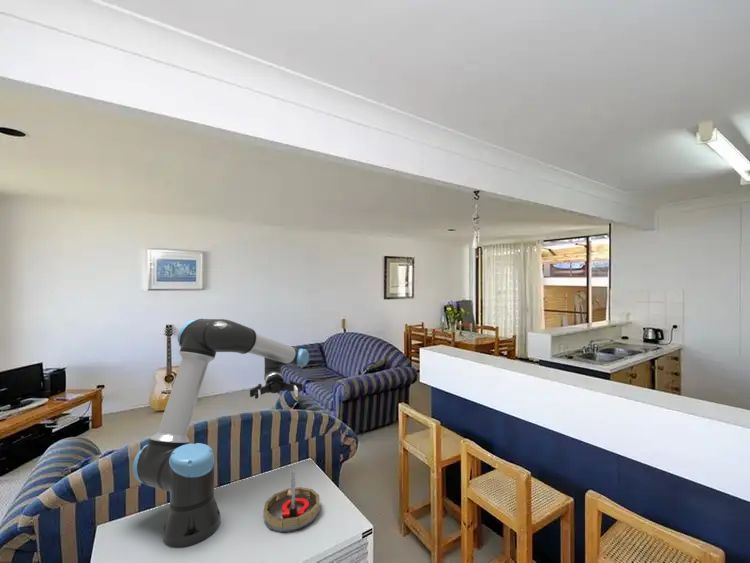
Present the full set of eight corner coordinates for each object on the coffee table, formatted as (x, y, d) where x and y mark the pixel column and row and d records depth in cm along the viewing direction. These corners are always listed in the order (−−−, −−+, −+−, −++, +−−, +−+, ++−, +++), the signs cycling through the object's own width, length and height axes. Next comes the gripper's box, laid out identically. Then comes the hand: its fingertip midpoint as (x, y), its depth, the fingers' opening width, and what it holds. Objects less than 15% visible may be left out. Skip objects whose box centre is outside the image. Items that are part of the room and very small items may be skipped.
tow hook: (284, 502, 112) (278, 519, 103) (284, 461, 113) (278, 474, 104) (310, 500, 112) (306, 517, 103) (310, 460, 114) (306, 473, 104)
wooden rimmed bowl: (252, 526, 102) (252, 514, 102) (285, 494, 118) (285, 484, 118) (301, 537, 97) (301, 525, 97) (328, 503, 113) (328, 492, 113)
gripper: (303, 387, 152) (312, 401, 132) (244, 394, 143) (243, 410, 123) (303, 370, 152) (311, 381, 132) (243, 376, 143) (242, 389, 123)
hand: (278, 395), depth 127 cm, fingers open, 13 cm apart
